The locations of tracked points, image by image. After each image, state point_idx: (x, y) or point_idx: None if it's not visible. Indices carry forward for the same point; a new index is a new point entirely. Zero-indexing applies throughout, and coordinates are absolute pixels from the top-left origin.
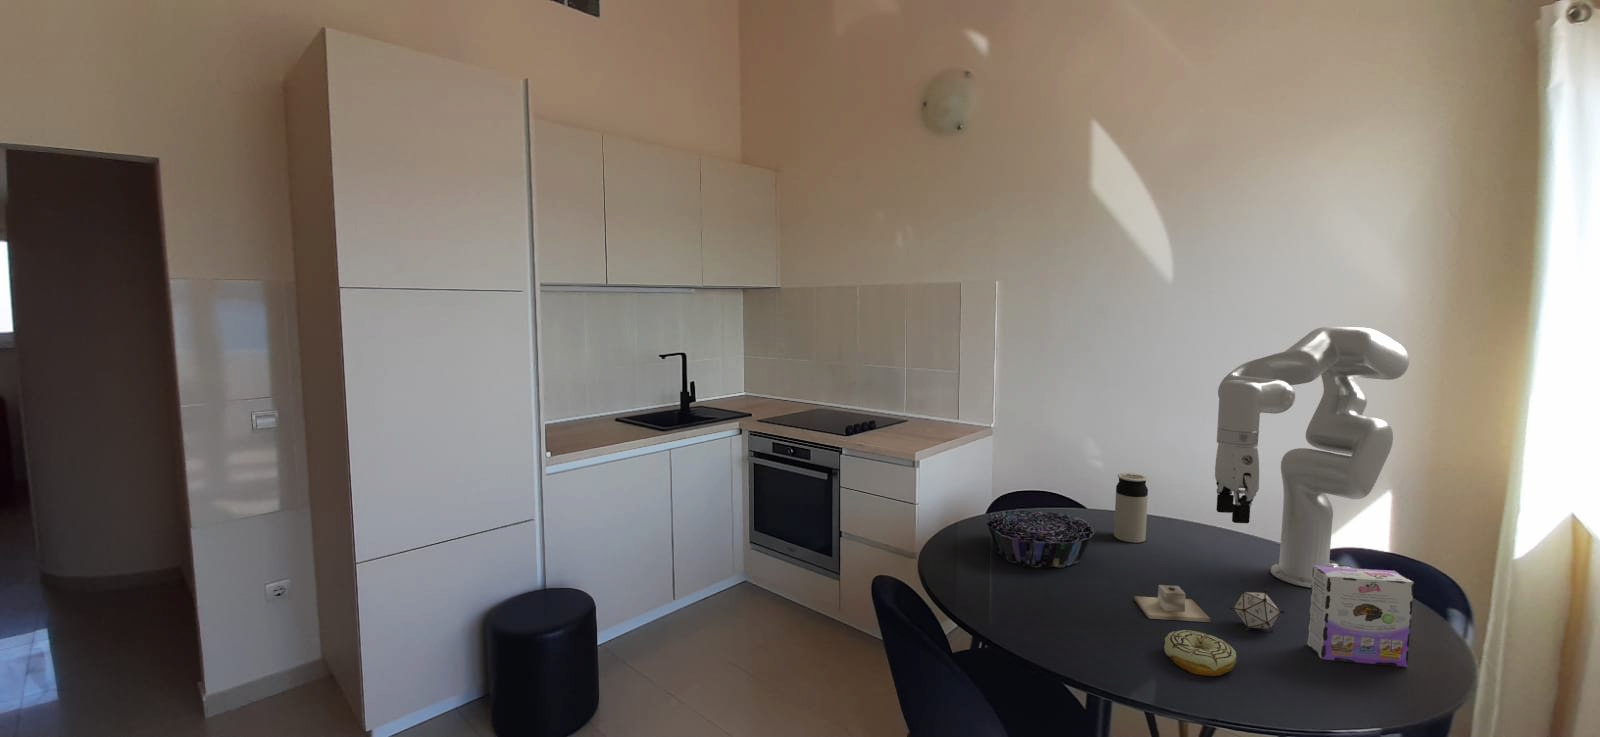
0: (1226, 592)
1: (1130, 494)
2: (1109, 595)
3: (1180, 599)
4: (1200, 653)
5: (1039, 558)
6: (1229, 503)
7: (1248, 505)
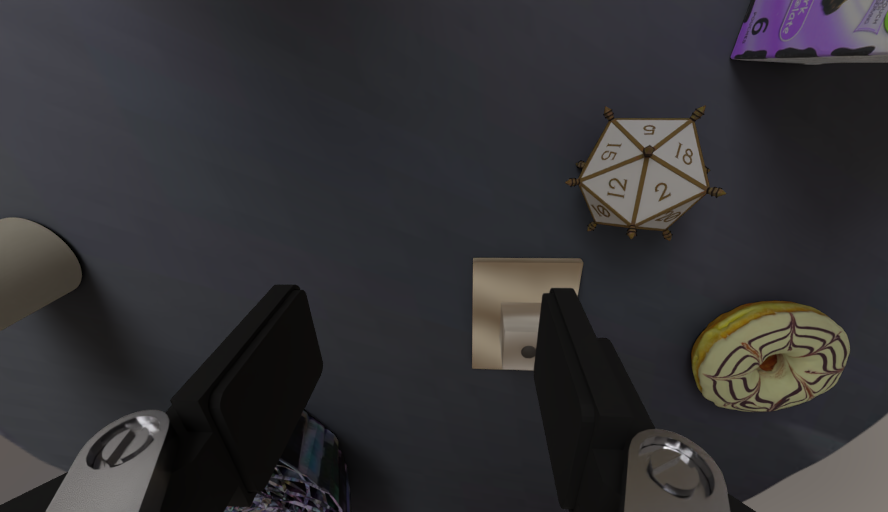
0: (382, 134)
1: None
2: (457, 395)
3: None
4: (823, 390)
5: (347, 486)
6: (273, 364)
7: (676, 459)
